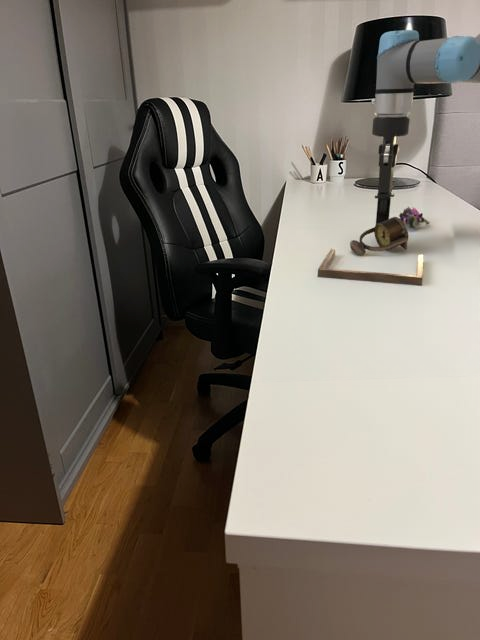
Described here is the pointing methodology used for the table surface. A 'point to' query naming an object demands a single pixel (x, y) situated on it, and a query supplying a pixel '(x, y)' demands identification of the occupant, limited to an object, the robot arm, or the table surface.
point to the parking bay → (370, 273)
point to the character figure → (412, 217)
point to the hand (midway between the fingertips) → (381, 226)
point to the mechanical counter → (383, 237)
